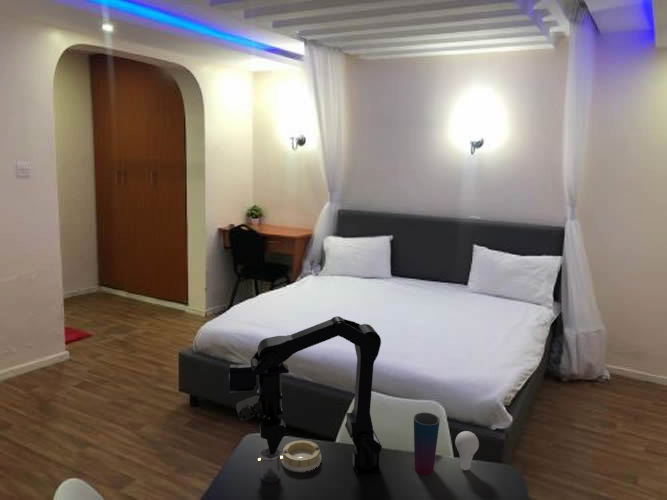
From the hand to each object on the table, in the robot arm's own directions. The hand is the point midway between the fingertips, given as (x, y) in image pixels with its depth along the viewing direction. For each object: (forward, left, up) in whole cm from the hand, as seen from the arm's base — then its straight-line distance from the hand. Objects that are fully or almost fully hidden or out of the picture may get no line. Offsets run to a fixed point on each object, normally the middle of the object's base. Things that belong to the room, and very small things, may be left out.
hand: (270, 444), depth 144 cm
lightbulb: (-52, +6, -10) cm, 53 cm away
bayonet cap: (0, 0, -9) cm, 9 cm away
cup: (-41, +4, -10) cm, 42 cm away
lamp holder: (-9, -6, -9) cm, 14 cm away
